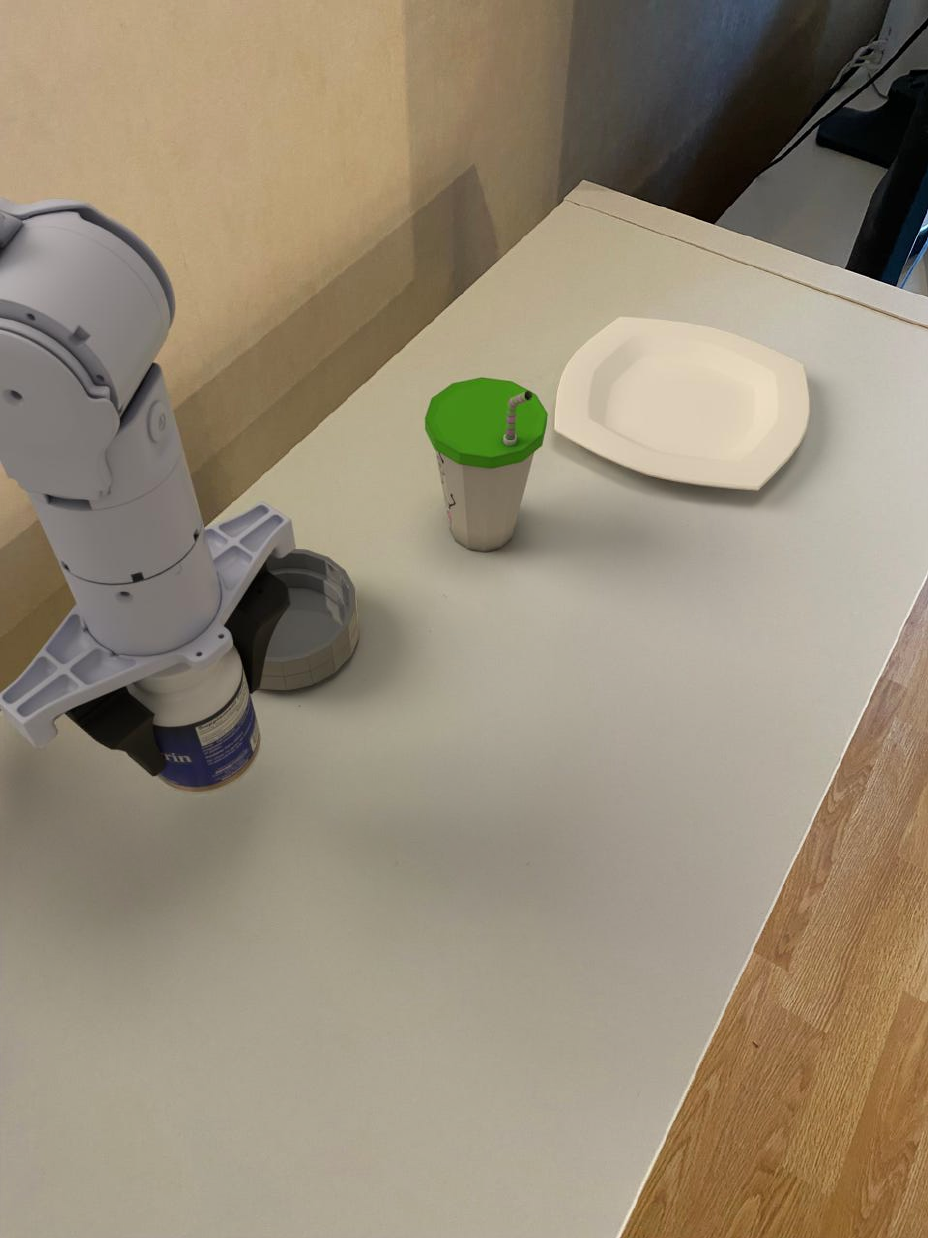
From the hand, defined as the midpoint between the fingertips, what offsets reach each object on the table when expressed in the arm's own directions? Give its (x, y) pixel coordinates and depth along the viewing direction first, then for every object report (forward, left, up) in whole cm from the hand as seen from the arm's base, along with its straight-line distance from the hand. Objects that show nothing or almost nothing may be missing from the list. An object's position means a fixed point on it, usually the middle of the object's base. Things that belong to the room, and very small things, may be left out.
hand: (195, 720), depth 50 cm
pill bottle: (0, 0, -3) cm, 3 cm away
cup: (+17, +21, -10) cm, 29 cm away
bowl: (+3, +13, -10) cm, 16 cm away
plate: (+34, +32, -10) cm, 48 cm away
